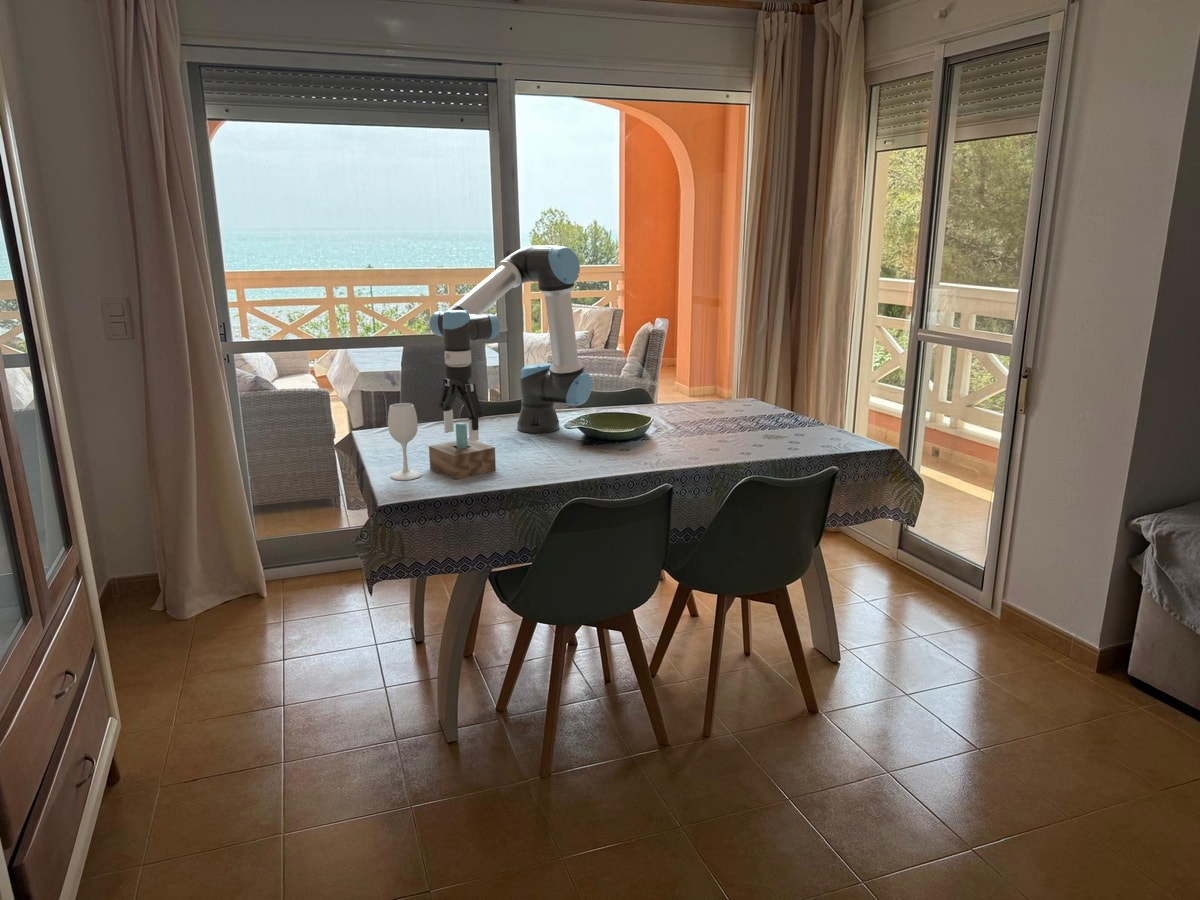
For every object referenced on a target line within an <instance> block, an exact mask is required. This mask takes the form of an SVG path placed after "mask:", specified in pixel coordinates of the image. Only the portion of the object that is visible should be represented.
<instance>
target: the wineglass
mask: <svg viewBox="0 0 1200 900" xmlns="http://www.w3.org/2000/svg"><path fill="white" fill-rule="evenodd" d="M387 414H388V415H387V426H388V427H387V428H388V432H389V435H390V436H391V438H392V439H393V440H395V441H396V442H397V443H399V444H400V445H401V448H402V456H403V457H402V459H403V460H402V461H403V462H402V463H403V468H402V470H399V471H395V472H393V473H392V474H391V475H390V478H391V479H392V480H395V481H412V480H416V479H419V478H420V477H422V473H421V472H419V471H417V470H412V469H409V465H408V458H407V457H408V456H407V454H408V453H407V447H408V443H410V442H411V441H412V440H413V439H414V438H415V437H416V435H417V433H418V424H419V423H418V416H417V411H416V408H415V405H414V404H413V403H411V402H410V403H409V402H399V403H397V402H396V403H393V404H390V405H389V408H388V413H387Z"/></svg>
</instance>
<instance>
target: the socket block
mask: <svg viewBox="0 0 1200 900" xmlns="http://www.w3.org/2000/svg"><path fill="white" fill-rule="evenodd" d="M467 443H468V448H465V449H460V450H459V449H457V443H456V440H454V441H449V442H443V443H439V444H433V445H428V451H429V469H430V470H432V471H434V472H437V473H440V474H442V475H443V476H446V477H448V478H451V479H453V480H458V479H463V478H467V477H473V476H476V475H481V474H484V473H490V472H494V471H496V470H497V469H496V468H497V467H496V464H497V463H496V447H494V446H492V445H489V444H487V443H484V442H480V441H479V440H477V441H471V442H470V441H469V438H467Z"/></svg>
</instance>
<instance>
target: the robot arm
mask: <svg viewBox="0 0 1200 900" xmlns="http://www.w3.org/2000/svg"><path fill="white" fill-rule="evenodd" d="M580 267H581V266H580V260H579V257H578V256H577V254H576V252H575V251H574V250H572V248H571V247H568V246H563V245H559V244H558V245H555V244H553V245H534V244H533V245H527V246H523V247H521V248H519V249H517V250H516V251H514V252H512V253H510V254H509V255H508V256H506V257H505V258H504V259H502V260H501V261H499V262H498V263H497V267H496V269H495V270H494V271H493V272H492V273H491V274H489V275H488V276H487V277H486V278H484V279H483V280H481V282H480V283H478V284H477V285H475V287H473V288H472V289H471V290H470V291H469V292H468V293H466V294H465V295H464V296H463V297H461V298H460V299H459V300H458V301H457V302H455V303H454V304H453V305H451V306H450V307H449V308H448V309H447V310H445V311H443V310H441V311H438V310H437V311H435V312H433V313H432V315H431V316H430V318H429V323H428V324H429V328H430V330H431V332H432V334H433V335H435V336H438V337H443V347H444V355H443V356H444V364H446V365H445V366H444V371H445V373H444V374H445V378H443V379H442V389H441V392H440V396H439V397H440V398H439V401H438V407H439V408H440V409H441V410H442V411H443V422H444V423H443V426H444V428H443V429H444V433H445V434H448V433H452V432H454V431H455V430H454V428H455V427H454V410H453V409H454V408H453V405H454V403H455V402H456V399H457V398H459V399H460V400H461V401H462V402H463V403H462V404H463V405H464V407H465V410H466V411H467V414H468V416H469V417H468V437H469V438H468V439H469V441H470V442H471V441H479V430H480V429H479V419H481V418H483V417H484V413H483V410H482V407H481V403H480V401H479V397H478V394H477V388H476V387H477V385H476V384H475V383H470V384H469V379H472V377H473V373H472V372H473V371H472V368H473V367H472V366H471V364H472V348H471V345H472V343H473V342H481V341H489V340H492V339H495V338H497V337H498V335H499V334H500V331H501V323H500V320H499V318H498V317H497V316H496V315H495V314H493V313H484V312H486V310H488V309H489V308H490V307H491V306H492V305H493V304H495V303H496V302H497V301H498V300H499V299H500V298H502V297H503V296H504V295H505V294H507V292H509V291H510V290H511V289H512V288H513V289H514V288H518V287H519V286H520V285H522V284H524V283H528V282H535V283H537V284H538V289H539V290H538V291H540V292H541V293H542V294H543V295H544V301H545V309H546V319H547V325H548V326H547V327H548V332H549V339H550V340H549V341H550V342H549V343H550V348H551V356H552V363H537V364H536V363H535V364H531V365H525V366H523V367H522V369H520V390H521V391H520V395H521V396H520V397H521V399H520V400H521V401H520V402H521V407H520V408H521V409H520V412H519V415H518V419H517V422H516V429H517V430H518V431H520V432H523V433H527V434H528V433H529V434H544V433H545V434H546V433H552V432H555V431H558V430H559V429H560V421H559V417H558V414H557V411H556V409H555V404H562V405H566V406H570V407H571V406H575V407H578V406H581V405H583V404H585V403H586V402H587V401H588V399H589V398H590V395H591V392H592V390H593V389H592V388H593V379H592V376H591V375H590V374H589V373H588V372H585V371H584V370H585V369H584V368H585V367H584V364H583V363H582V362H581V361H580V360H579V357H578V347H577V339H576V329H575V321H574V312H573V305H572V296H571V295H572V293H571V291H572V290H573V288H574V287H575V282H576V281H577V280H578V279H579V277H580V275H579V274H580V270H581V268H580Z"/></svg>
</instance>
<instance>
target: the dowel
mask: <svg viewBox="0 0 1200 900" xmlns="http://www.w3.org/2000/svg"><path fill="white" fill-rule="evenodd" d="M467 425H468V424H467V422H458V423H455V434H456V435H455V436H456V437H455V439H456V440H455V441H456V443H457V449H459V450H460V449H465V448H468V443H467V439H468V427H467Z"/></svg>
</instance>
